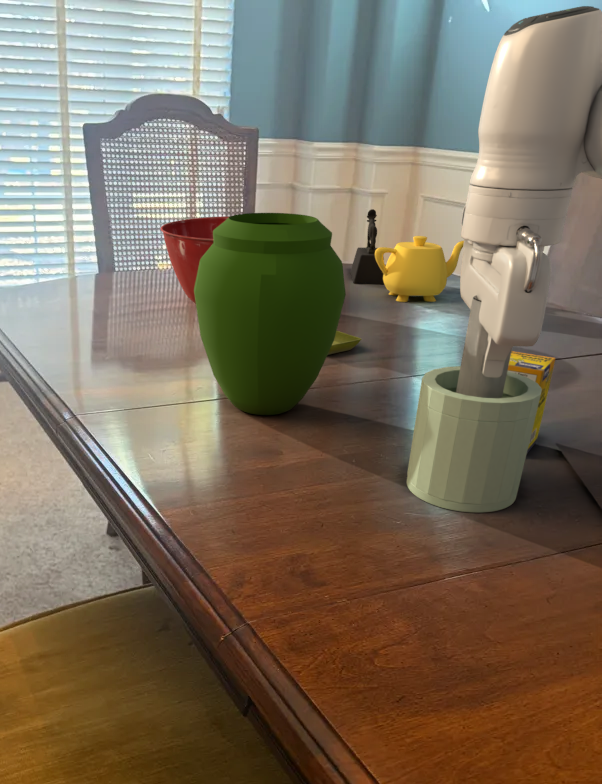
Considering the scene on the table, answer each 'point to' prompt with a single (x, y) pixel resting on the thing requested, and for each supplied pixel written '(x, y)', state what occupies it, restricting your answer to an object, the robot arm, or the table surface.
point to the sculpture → (367, 258)
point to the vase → (268, 307)
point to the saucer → (343, 342)
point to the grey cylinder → (478, 361)
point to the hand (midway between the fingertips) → (484, 366)
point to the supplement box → (539, 373)
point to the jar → (470, 442)
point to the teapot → (417, 268)
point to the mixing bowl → (189, 247)
